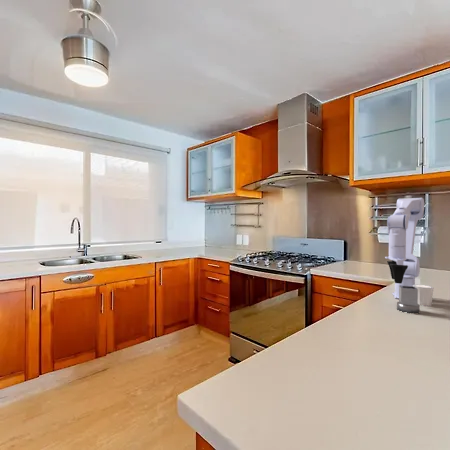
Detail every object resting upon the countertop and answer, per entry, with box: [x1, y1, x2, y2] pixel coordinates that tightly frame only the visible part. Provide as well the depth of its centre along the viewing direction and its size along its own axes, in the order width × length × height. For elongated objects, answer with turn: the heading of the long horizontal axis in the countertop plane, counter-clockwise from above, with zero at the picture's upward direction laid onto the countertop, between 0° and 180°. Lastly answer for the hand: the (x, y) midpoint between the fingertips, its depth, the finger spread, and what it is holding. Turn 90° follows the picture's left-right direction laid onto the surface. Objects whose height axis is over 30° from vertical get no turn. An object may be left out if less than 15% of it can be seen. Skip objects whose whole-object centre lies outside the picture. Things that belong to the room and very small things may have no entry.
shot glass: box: [413, 284, 434, 307], centre depth 116 cm, size 7×7×7 cm
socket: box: [398, 285, 418, 307], centre depth 107 cm, size 5×5×6 cm
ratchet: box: [396, 301, 421, 314], centre depth 110 cm, size 14×7×5 cm, turn 157°
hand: (396, 281), depth 113 cm, fingers open, 7 cm apart
